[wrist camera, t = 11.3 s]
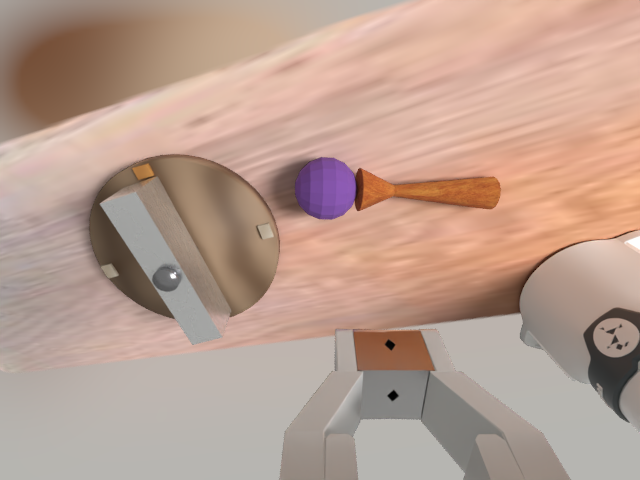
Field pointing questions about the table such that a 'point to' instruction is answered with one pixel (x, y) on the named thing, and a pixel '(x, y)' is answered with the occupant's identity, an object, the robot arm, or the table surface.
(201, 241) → the lock plate
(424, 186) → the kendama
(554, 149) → the table surface
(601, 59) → the table surface
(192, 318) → the bar
